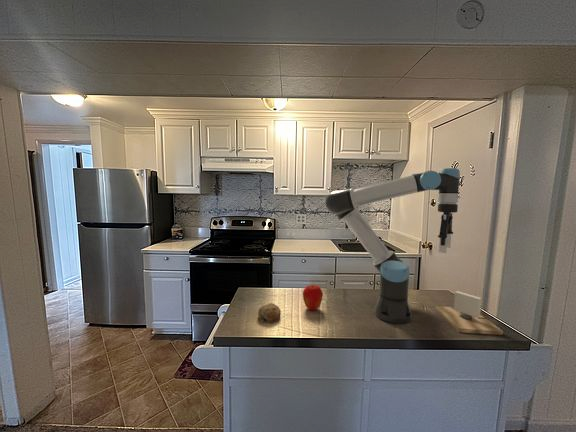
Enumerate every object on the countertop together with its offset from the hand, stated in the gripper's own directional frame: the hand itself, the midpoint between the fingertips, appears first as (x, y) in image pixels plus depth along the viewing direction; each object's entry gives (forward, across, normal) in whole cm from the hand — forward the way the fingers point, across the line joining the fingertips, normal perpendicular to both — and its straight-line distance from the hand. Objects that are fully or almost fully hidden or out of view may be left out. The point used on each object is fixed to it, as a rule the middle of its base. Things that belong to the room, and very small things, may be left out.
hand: (444, 249), depth 117 cm
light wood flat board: (+29, -4, -10) cm, 31 cm away
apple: (+29, -37, +47) cm, 67 cm away
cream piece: (+27, -2, -11) cm, 29 cm away
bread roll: (+29, -56, +57) cm, 85 cm away
